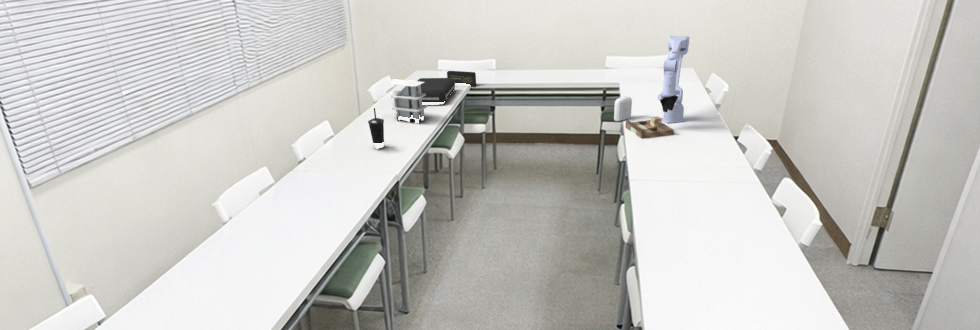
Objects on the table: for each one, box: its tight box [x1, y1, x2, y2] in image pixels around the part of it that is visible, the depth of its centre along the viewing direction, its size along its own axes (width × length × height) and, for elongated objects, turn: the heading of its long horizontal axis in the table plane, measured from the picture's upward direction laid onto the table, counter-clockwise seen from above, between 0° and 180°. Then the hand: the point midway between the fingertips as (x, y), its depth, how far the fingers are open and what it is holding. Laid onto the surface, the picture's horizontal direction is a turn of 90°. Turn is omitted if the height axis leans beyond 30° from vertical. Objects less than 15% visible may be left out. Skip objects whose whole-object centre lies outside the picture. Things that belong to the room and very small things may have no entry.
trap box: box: [625, 119, 675, 139], centre depth 286 cm, size 17×18×4 cm
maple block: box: [649, 115, 663, 127], centre depth 285 cm, size 4×4×4 cm
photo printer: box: [613, 95, 633, 122], centre depth 304 cm, size 10×4×12 cm, turn 123°
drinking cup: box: [367, 107, 385, 144], centre depth 278 cm, size 8×8×20 cm
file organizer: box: [389, 78, 428, 119], centre depth 319 cm, size 26×35×22 cm
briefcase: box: [417, 77, 456, 102], centre depth 363 cm, size 36×32×10 cm
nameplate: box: [446, 70, 477, 88], centre depth 389 cm, size 21×2×10 cm, turn 65°
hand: (667, 110), depth 285 cm, fingers open, 3 cm apart
